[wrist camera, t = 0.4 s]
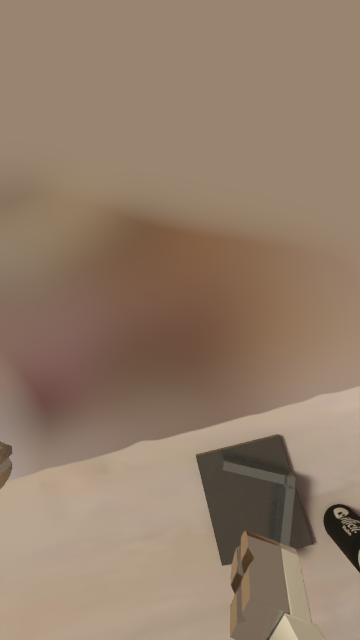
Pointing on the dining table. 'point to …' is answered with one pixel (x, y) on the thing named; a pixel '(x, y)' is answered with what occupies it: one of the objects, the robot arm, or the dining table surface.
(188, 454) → the dining table surface
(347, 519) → the beverage can
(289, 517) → the v block
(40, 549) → the dining table surface
